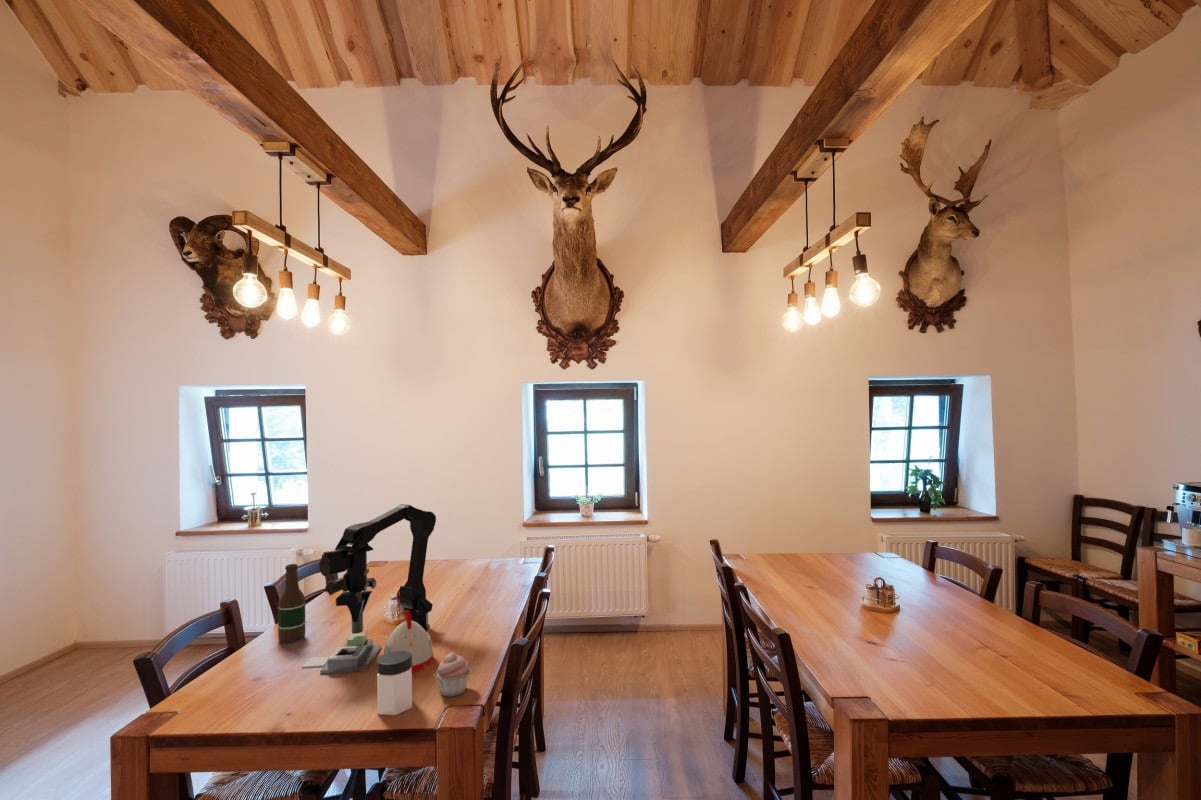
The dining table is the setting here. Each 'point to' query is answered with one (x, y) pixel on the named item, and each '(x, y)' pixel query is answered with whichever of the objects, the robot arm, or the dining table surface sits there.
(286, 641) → the beer bottle
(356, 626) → the gray capped cylinder
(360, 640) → the on button
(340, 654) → the grey flat framed piece
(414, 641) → the kitchen timer
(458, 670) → the cupcake
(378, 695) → the jar
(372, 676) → the dining table surface
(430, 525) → the robot arm
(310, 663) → the pad
